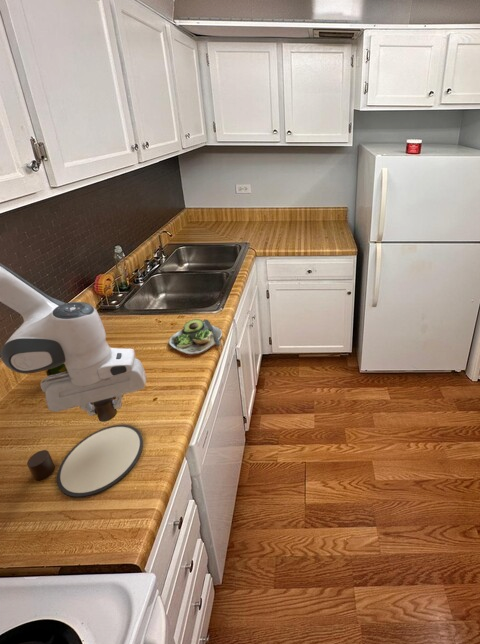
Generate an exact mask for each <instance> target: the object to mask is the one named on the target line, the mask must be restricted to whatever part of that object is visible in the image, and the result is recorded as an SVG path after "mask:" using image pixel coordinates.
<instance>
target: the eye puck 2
mask: <svg viewBox="0 0 480 644" xmlns="http://www.w3.org/2000/svg"><path fill="white" fill-rule="evenodd" d="M113 403H114V398H113V397H112V398H108V399H104V400H100V401H96V402H93V405H94V407H95V410H96V413H97V414H96V416H97V419H98V421H99V422H102V423H106V422H109V421H110V420H113V419H114V418H115V417H116V415H117V414H118V409H114V407H113Z"/></svg>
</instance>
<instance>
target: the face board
mask: <svg viewBox="0 0 480 644" xmlns="http://www.w3.org/2000/svg"><path fill="white" fill-rule="evenodd" d="M143 449H144V440H143V435H142V433H141V432H140V430H138V429H137V428H136V427H134V426H131V425H128V424H116V425H115V424H114V425H110V426H107V427H103V428H101V429H99V430H96V431H94V432H93V433H91V434H89V435H87V436H86V437H85V438H83V439H81V440H80V441H79V442H78V443H77V444H76V445H75V446H73V448H72V449H71V450H70V451H69V452H68V453H67V454H66V455H65V457H64V458H63V460H62V461H61V463H60V465H59V468H58V470H57V474H56V485H57V487H58V490H59V491H60V492H61V493H62V494H63V495H64V496H67V497H69V498H73V499H75V498H77V499H82V498H88V497H92V496H96V495H98V494H101V493H102V492H104V491H106V490H108V489H110V488H112V487H114V486H115V485H117V484H118V483H119V482H120V481H122V480H123V479H124V478H125V477H126V476H127V475H128V474H129V473H130V472H131V471H132V470H133V468H134V467H135V466H136V464H137V463H138V461H139V460H140V457H141V455H142V452H143Z"/></svg>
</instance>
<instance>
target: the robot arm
mask: <svg viewBox="0 0 480 644" xmlns="http://www.w3.org/2000/svg"><path fill="white" fill-rule="evenodd" d="M0 303H2V304H4V305H5V306H7V307H9V308H10V309H12V310H13V311H15V312H16V313H18V314H20V315H21V317H22V319H23V322H22V324H21V325H20V326H19V327H18V328H17V329H16V330H15V331H14V332H13V333H12V335H11V336H10V337H9V338H8V340H6V342H5V343H4V345H3V346H2V347H1V349H0V359H1V362H2V363H3V364H4V366H6V367H7V368H8V369H10V370H11V371H13V372H15V373H18V374H25V375H26V374H27V375H28V374H29V375H31V374H36V373H41V372H46V371H45V370H48V369H51V368H55V367H57V366H60V365H62V364H65V366H66V369H67V372H62V373H59V374H56V375H50V376H47V375H46V377H45V378H43V379H42V380H41V381H40V384H39V385H40V388H41V390H42V392H43V393H45V401H46V406H47V409H48V411H50V412H52V413H57V412H61V411H66V410H69V409H73V408H77V407H79V408H80V409H81V410H82V411H84V412H86V413H87V414H88V416H89V417H92V416H97V413H96V410H95V407H94V404H93V403H94V402H96V401H100V400H104V399H108V398H112V397H115V398H113V400H114V403H113V407H114V409H116V410H118V409H121V408H122V403H123V402H122V399H123V397H124V395H127V394H130V393H131V394H132V393H135V392H138V391H142V390H144V389H145V387H146V386H147V381H148V380H147V378H148V377H147V373H146V371H145V368H144V365H143V364H142V362H141V360H140V359H138V358H136V352H135V349H133V348H121V347H119V348H118V347H111V345H109V343H108V342H107V340H106V338H107V333H106V329H105V327H104V323H103V321H102V319H101V316H100V314H99V313H98V311H97V309H96V308H95V307H94V306H93V305H92V304H90V303H88V302H86V301H85V302H83V301H72V302H64V301H62V300H59V299H56V298H54V297H52V296H50V295H48V294H46V293H45V292H44V291H42V290H41V289H39V288H38V287H36V286H35V285H33V284H32V283H31V282H29V281H28V280H26V279H24V278H23V277H22V276H20V275H18V274H17V273H16V272H15V271H13V270H11V269H10V268H8V267H7V266H6V265H3V264H2V263H0Z"/></svg>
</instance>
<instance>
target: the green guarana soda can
mask: <svg viewBox="0 0 480 644" xmlns="http://www.w3.org/2000/svg"><path fill="white" fill-rule="evenodd" d="M44 372H45V373H46V377H47V376H50V375H56V374H59V373H62V372H67V369H66V366H65V364H62V365H60V366H57V367H55V368H51V369H48V370H45V371H44Z"/></svg>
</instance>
